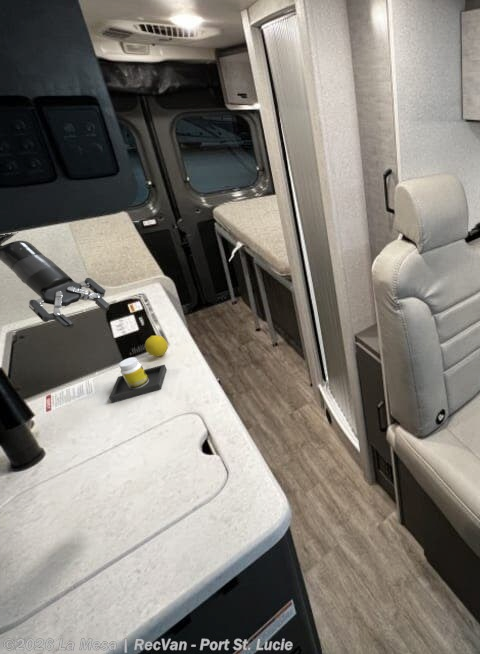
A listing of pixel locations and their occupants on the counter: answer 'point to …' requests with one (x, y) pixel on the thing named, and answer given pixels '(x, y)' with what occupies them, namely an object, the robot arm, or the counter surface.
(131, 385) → the supplement bottle
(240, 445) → the counter surface
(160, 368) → the dock pad
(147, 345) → the lemon
